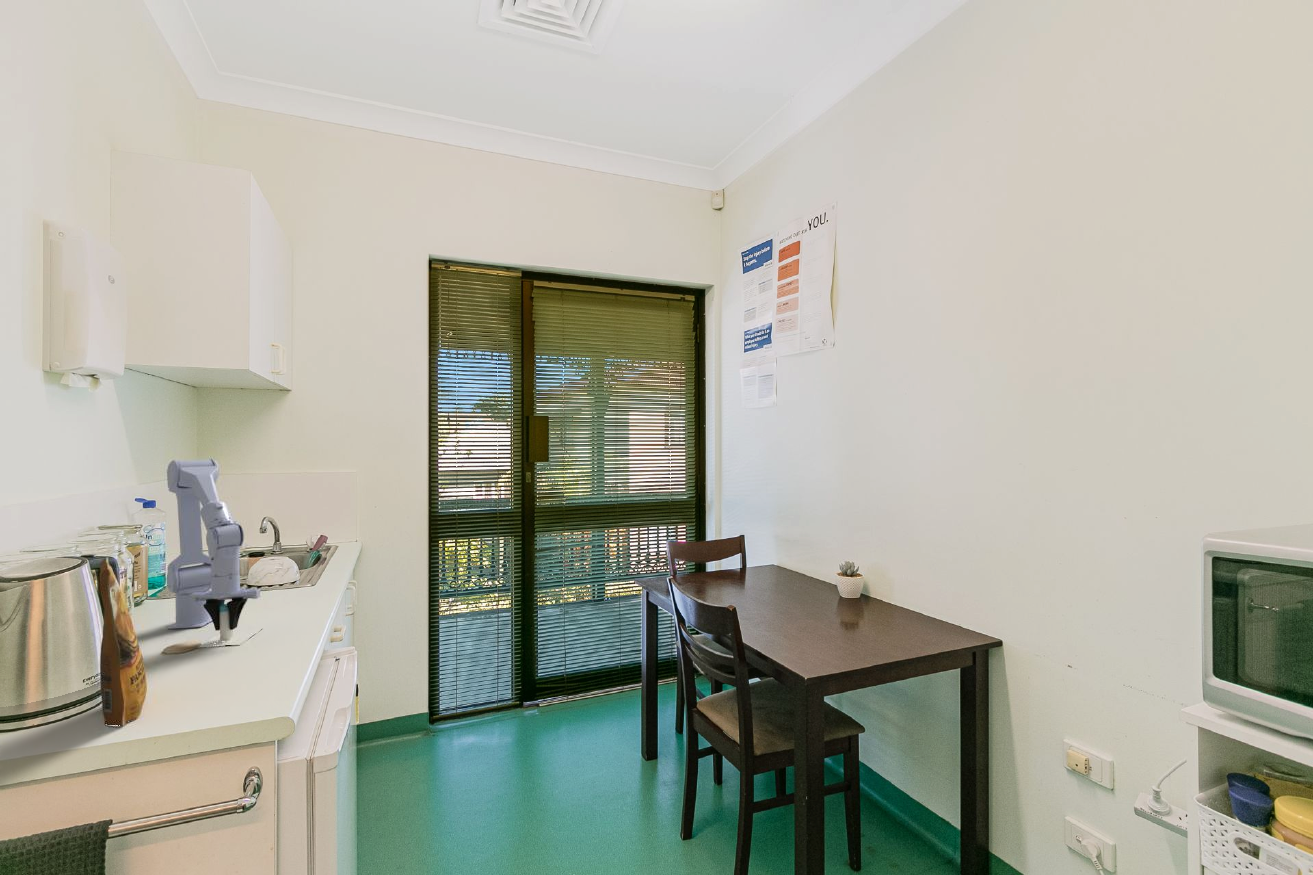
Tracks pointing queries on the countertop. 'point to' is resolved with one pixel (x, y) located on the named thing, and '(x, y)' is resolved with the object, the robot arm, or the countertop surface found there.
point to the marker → (224, 622)
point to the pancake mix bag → (119, 656)
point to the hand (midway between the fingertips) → (226, 628)
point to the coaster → (181, 647)
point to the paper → (220, 643)
